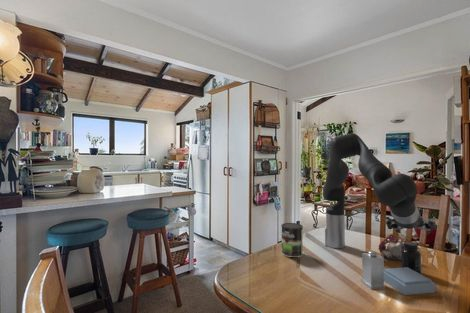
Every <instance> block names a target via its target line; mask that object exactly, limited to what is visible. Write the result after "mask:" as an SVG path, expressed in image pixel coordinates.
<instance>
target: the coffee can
mask: <svg viewBox="0 0 470 313" xmlns="http://www.w3.org/2000/svg"><path fill="white" fill-rule="evenodd" d="M303 229H304V226H303V225H302V224H301V223H295V222H285V223H282V224H281V254H282V256H284V255H285V256H284V257H286V256H288V257H287V258H290V257H298V258H301V257H302V256H303V255H304V254H303ZM300 256H301V257H300Z"/></svg>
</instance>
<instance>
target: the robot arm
mask: <svg viewBox="0 0 470 313" xmlns="http://www.w3.org/2000/svg"><path fill="white" fill-rule="evenodd" d="M329 146H330V147H329V161H328V165H327V166H328V167H327V171H326V177H325V182H324V185H323V189H322V195H323V198H324V200H325V201H328V202H336V203H335V204H334V205H331V206H330V205H329V206H328V207H326V209H325V225H326V226H325V227H324V246H327V247H328V248H332V249H344V248H345V247H346V246H345V245H346V242H345V240H346V239H345V238H346V237H345V236H346V232H345V230H346V228H345V226H346V225H345V224H346V220H345V217H346V216H345V204H346V203H345V199H346V189H345V186H344V183H346V181H347V179H348V176H349V172H350V168H349V166H348V164H347V163H346V162H345V161H344V160H343V159H346V158H351V157H355V156H359V159H358V164H357V165H358V167H357V168H358V171H359V172H360V173H361V175H362V176H363V177H364V178H365V180H367V181H368V182H369V184H370V185H371V187H372V189H373V191H374V195H375V197H376V199H377V201H379V203H380V204H382V205H383V206H386V207H388V208H389V210H390V215H391V217H392V218H390V216H386V217H385V224H386V227H387V229H388V230H392V229H393V230H394V231H395V232H397V233H398V234H401V233H402V232H401V230H403V229H406V230H408V229H418V230H421V231H425V232H426V235H429V234H430V233H432V231H437V225H436V224H437V223H436V221H435V219H434V217H433V216H428V217H427V218H423V217H421V214H420V212H419V208H418V207H417V205H416V203H415V201H416V198H417V195H418V194H417V193H418V188H417V184H416V182H415V181H414V179H413V178H412V177H411V176H409V175H408V174H406V173H397V174H394V175H393V172H392V171H391V169H390V168H389V167H388V166H386V165H385V164H384V163H383V162H381V161H380V160H379V159H378V158H377V157H376V156H375V155H374V154H373V153H372V151H371V149H370V148H369V146H367V144H366V143H365V141H363V139H362V138H361V137H360V136H359V135H358V134H356V133H351V132H350V133H346V134H343V135H338V136H335V137H333V138H332V139H331V141H330V145H329Z"/></svg>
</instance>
